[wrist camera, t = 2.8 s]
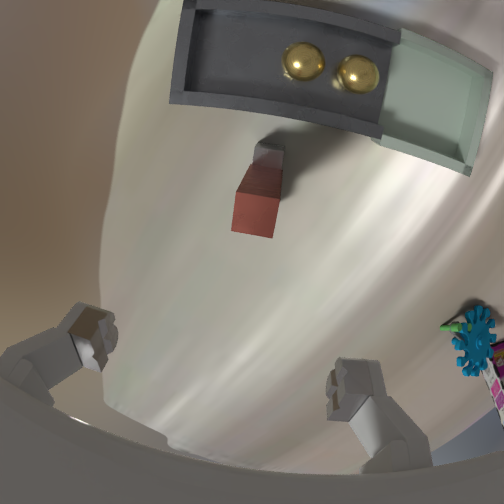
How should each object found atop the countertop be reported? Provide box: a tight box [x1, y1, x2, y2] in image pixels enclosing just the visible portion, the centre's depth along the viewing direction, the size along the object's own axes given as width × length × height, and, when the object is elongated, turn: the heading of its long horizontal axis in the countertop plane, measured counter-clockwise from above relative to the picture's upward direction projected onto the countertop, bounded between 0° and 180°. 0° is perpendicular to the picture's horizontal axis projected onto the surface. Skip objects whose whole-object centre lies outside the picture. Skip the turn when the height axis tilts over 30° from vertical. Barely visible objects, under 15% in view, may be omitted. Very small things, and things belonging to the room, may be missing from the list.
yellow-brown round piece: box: [281, 41, 325, 82], centre depth 20 cm, size 4×4×4 cm
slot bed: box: [169, 0, 401, 140], centre depth 21 cm, size 10×18×3 cm, turn 82°
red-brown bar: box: [231, 142, 285, 238], centre depth 24 cm, size 6×3×10 cm, turn 172°
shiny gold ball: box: [337, 54, 379, 94], centre depth 20 cm, size 4×4×4 cm
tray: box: [371, 28, 493, 177], centre depth 21 cm, size 11×10×3 cm
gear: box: [440, 305, 497, 376], centre depth 33 cm, size 11×6×10 cm
